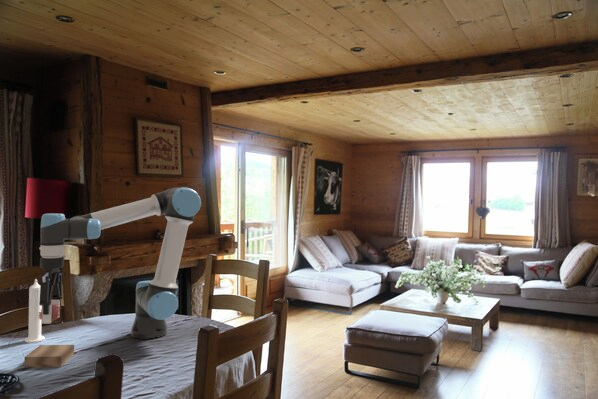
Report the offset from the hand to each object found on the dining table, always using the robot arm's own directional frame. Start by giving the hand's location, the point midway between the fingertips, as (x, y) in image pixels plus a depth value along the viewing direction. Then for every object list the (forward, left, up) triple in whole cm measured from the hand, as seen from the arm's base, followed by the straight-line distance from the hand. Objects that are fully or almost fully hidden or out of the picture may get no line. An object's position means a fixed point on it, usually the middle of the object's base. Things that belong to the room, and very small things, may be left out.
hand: (51, 320), depth 161 cm
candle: (+15, -23, -15) cm, 31 cm away
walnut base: (0, 0, -15) cm, 15 cm away
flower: (0, 0, -1) cm, 1 cm away
